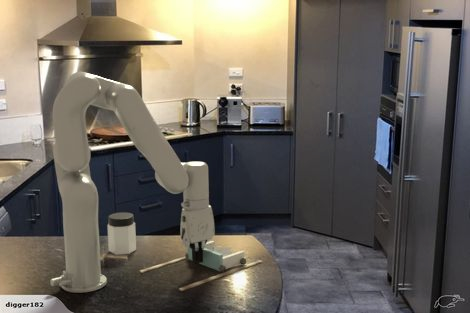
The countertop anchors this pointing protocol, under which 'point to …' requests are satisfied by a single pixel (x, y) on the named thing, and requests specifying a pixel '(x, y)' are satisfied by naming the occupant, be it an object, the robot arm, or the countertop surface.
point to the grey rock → (222, 250)
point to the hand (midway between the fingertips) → (197, 261)
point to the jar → (121, 233)
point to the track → (204, 279)
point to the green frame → (218, 258)
